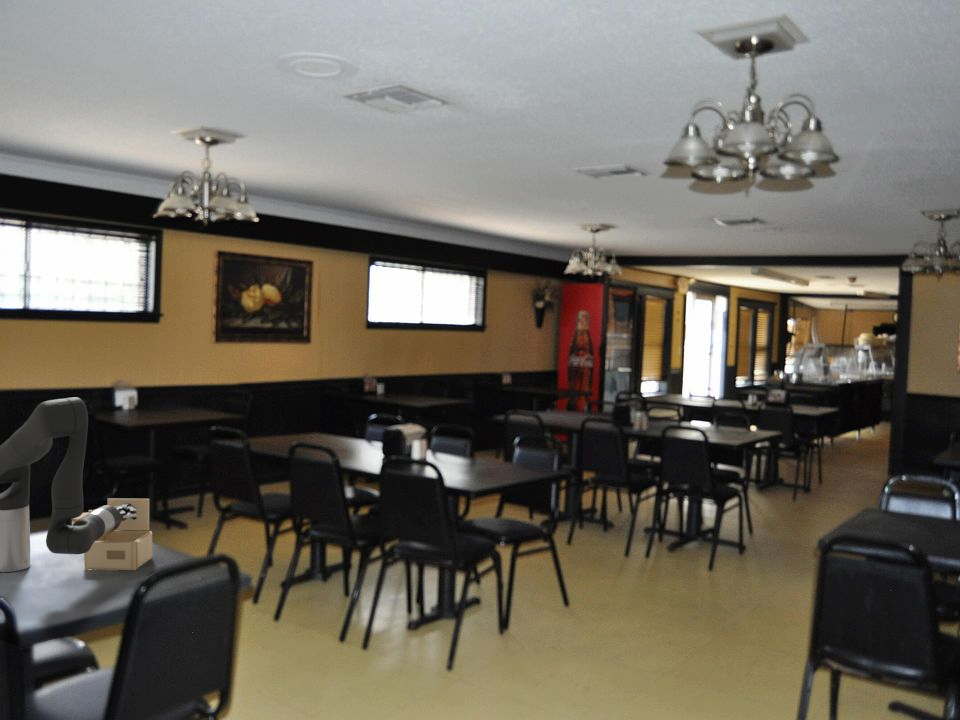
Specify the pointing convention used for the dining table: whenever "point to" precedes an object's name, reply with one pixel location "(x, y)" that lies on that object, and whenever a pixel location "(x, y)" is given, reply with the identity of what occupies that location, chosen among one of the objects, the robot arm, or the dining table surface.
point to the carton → (120, 551)
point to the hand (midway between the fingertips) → (128, 506)
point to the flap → (142, 513)
